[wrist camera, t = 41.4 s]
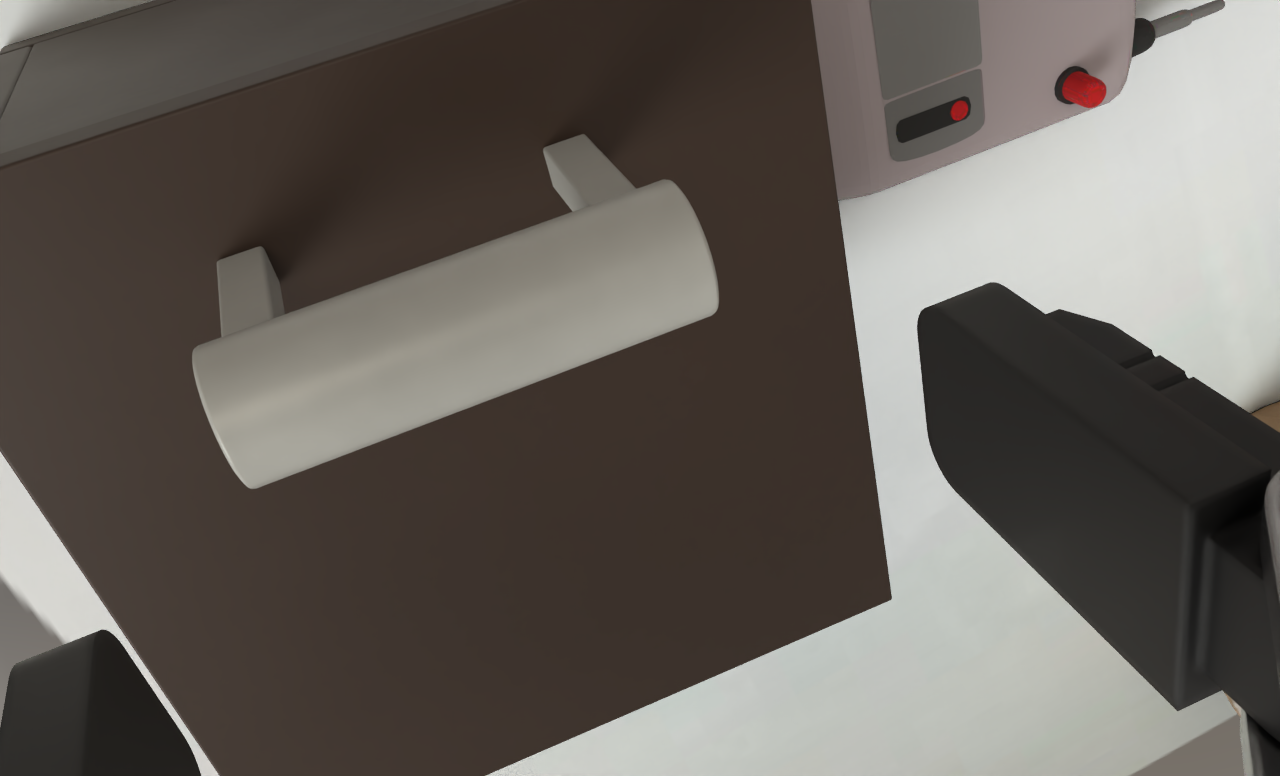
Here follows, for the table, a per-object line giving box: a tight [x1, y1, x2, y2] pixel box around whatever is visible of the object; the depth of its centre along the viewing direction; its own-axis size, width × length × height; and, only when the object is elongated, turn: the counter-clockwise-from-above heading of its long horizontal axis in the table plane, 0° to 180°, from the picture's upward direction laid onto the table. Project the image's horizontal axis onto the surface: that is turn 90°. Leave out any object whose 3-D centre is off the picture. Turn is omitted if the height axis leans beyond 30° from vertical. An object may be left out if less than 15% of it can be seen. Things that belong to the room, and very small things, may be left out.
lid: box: [0, 0, 892, 776], centre depth 18 cm, size 14×14×6 cm
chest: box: [0, 0, 477, 154], centre depth 26 cm, size 14×14×12 cm
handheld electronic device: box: [811, 0, 1225, 201], centre depth 32 cm, size 7×16×3 cm, turn 104°
